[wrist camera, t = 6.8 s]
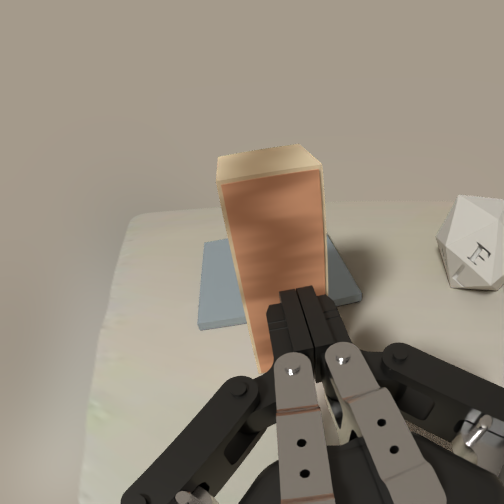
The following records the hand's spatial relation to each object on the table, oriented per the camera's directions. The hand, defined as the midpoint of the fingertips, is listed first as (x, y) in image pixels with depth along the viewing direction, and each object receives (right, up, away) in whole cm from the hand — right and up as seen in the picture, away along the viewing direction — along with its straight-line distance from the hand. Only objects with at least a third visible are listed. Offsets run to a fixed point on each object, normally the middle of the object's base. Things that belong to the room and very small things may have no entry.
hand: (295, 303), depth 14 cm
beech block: (+1, -5, +10) cm, 11 cm away
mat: (0, 0, +18) cm, 18 cm away
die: (+19, -1, +11) cm, 22 cm away
